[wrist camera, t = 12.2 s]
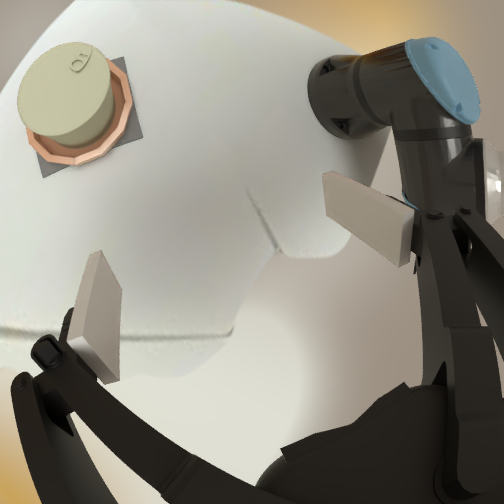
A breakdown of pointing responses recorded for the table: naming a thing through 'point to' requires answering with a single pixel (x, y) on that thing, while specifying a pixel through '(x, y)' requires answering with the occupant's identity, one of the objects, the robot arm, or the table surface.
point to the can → (68, 95)
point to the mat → (130, 135)
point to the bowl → (84, 155)
